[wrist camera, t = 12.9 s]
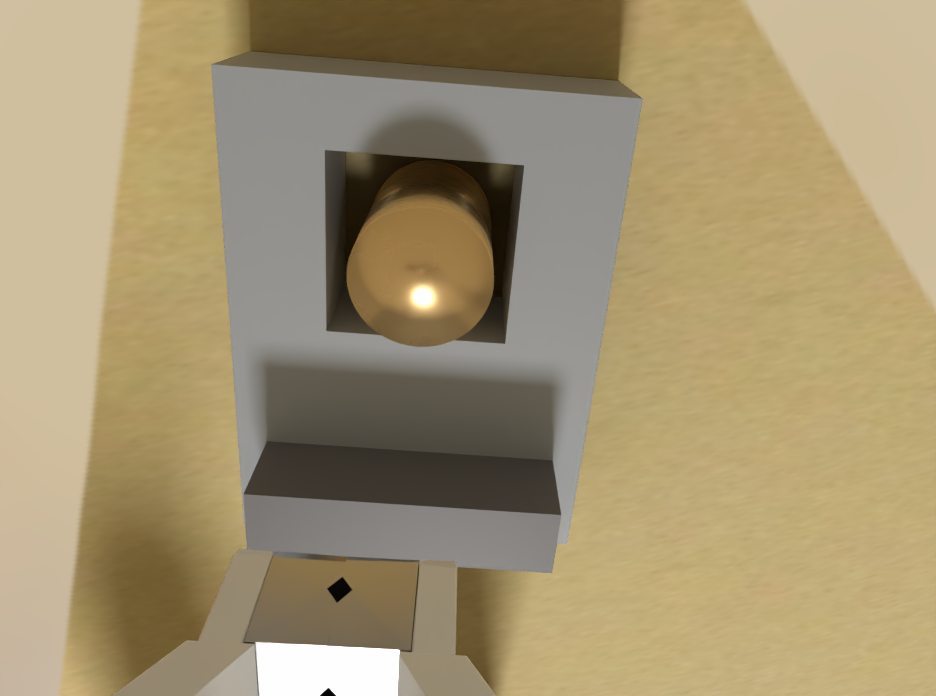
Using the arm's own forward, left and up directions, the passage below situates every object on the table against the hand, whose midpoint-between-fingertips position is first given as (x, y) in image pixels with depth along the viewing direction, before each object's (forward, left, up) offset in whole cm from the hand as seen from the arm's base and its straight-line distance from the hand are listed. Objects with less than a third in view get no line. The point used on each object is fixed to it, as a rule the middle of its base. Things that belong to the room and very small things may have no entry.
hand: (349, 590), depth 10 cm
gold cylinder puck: (0, 0, -18) cm, 18 cm away
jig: (0, +3, -18) cm, 18 cm away
